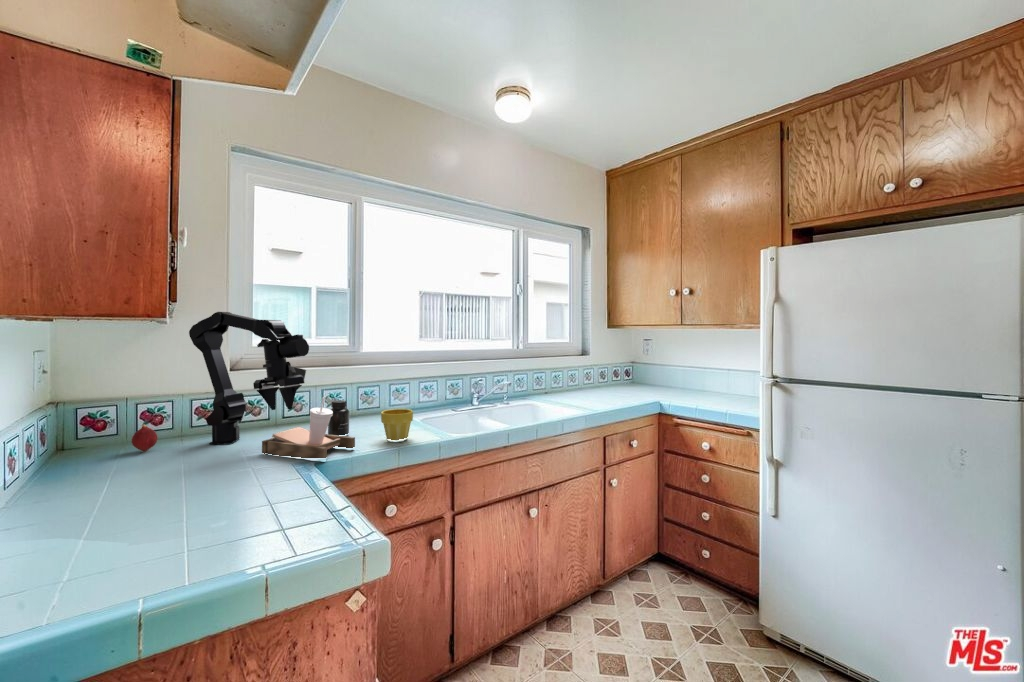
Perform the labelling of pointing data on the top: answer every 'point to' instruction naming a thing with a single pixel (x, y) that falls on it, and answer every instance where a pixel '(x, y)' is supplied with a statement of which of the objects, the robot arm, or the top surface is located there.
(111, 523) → the top surface
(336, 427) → the supplement bottle
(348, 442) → the frame
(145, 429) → the onion
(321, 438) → the smoothie
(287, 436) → the trapdoor
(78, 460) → the top surface
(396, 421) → the plant pot
